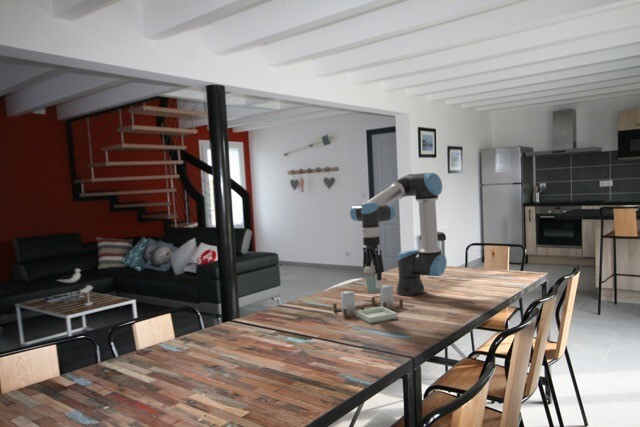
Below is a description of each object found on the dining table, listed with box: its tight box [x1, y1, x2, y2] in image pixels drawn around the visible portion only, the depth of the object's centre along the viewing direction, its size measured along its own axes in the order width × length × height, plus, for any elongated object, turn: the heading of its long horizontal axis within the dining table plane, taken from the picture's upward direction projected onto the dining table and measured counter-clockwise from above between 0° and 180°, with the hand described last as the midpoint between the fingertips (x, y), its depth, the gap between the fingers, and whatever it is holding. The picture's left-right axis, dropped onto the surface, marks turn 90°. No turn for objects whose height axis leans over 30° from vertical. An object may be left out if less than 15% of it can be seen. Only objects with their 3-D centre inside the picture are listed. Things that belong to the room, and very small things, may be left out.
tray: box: [355, 305, 398, 324], centre depth 220 cm, size 14×14×2 cm
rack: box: [332, 296, 404, 319], centre depth 234 cm, size 32×14×4 cm, turn 111°
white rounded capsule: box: [340, 290, 356, 315], centre depth 230 cm, size 6×6×10 cm
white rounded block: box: [379, 284, 395, 308], centre depth 237 cm, size 6×6×10 cm
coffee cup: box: [363, 264, 383, 295], centre depth 219 cm, size 8×8×12 cm
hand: (374, 285), depth 219 cm, fingers closed on coffee cup, 9 cm apart
